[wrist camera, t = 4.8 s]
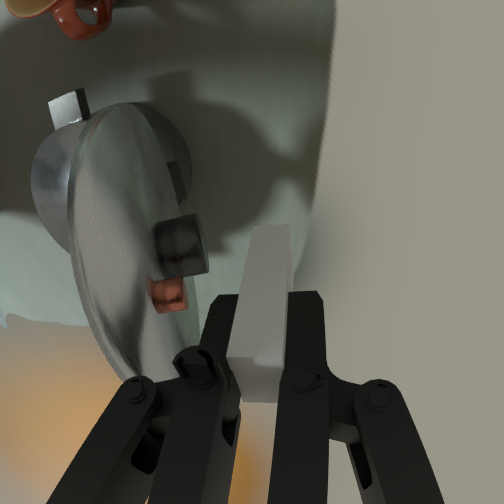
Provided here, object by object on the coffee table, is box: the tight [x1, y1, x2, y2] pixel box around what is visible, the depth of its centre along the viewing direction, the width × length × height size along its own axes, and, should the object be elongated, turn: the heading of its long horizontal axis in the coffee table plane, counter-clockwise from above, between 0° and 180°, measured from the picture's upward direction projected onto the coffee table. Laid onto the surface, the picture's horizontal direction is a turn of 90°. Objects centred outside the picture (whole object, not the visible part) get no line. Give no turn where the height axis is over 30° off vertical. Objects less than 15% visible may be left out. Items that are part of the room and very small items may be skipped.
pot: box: [30, 87, 192, 253], centre depth 26 cm, size 15×19×8 cm
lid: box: [67, 104, 209, 383], centre depth 15 cm, size 15×15×3 cm
